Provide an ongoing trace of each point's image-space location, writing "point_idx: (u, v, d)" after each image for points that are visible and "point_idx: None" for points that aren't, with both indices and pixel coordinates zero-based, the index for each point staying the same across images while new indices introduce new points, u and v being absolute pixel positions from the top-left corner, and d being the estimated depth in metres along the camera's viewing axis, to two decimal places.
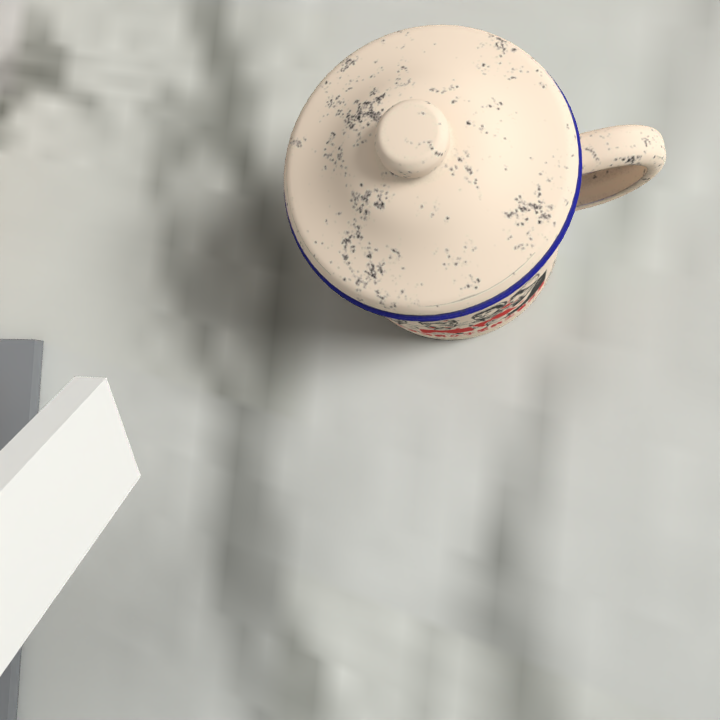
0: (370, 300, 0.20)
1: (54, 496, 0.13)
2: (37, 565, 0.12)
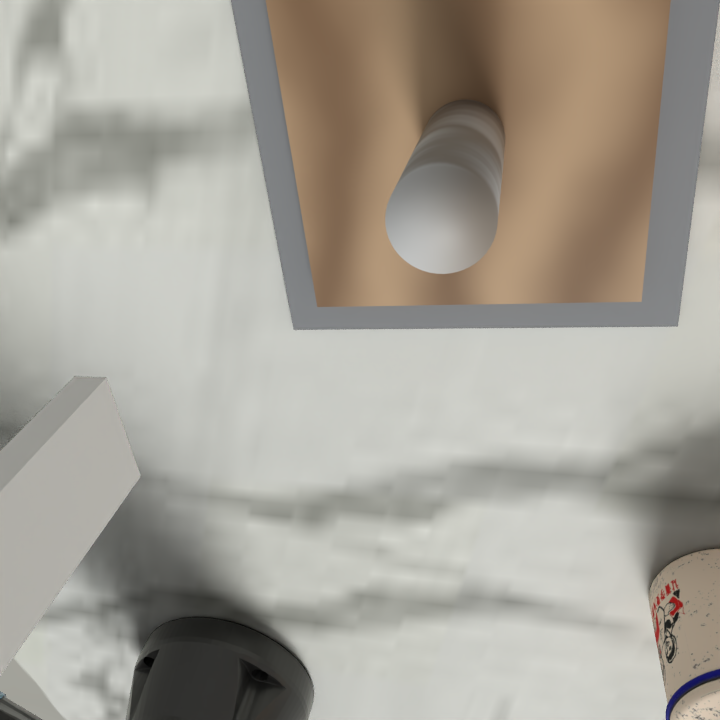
0: (681, 708, 0.36)
1: (54, 496, 0.13)
2: (37, 565, 0.12)
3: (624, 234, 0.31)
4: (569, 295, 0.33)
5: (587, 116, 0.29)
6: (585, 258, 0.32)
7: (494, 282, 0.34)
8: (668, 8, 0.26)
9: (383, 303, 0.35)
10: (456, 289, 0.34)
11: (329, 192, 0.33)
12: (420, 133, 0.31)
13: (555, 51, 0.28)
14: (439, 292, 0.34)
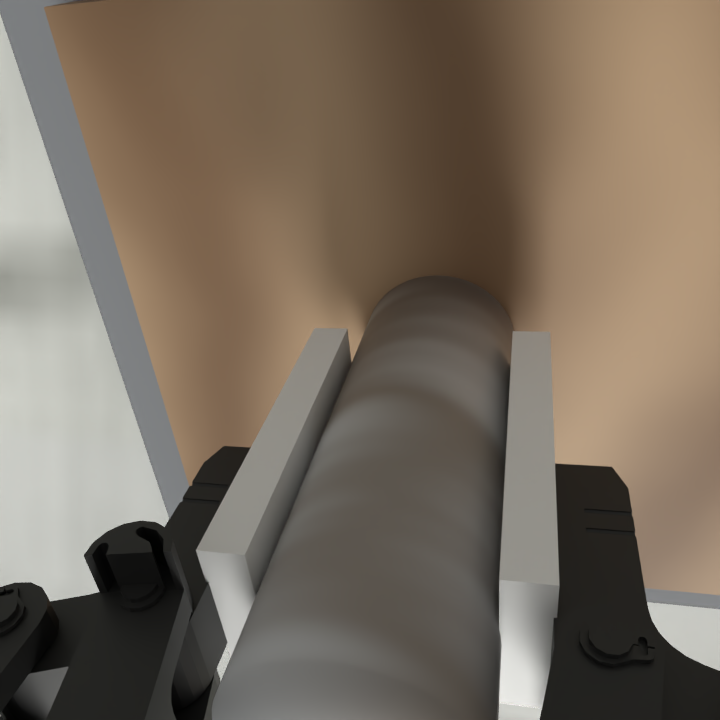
0: None
1: None
2: None
3: None
4: None
5: (672, 320, 0.15)
6: (648, 529, 0.19)
7: None
8: None
9: None
10: None
11: (213, 396, 0.19)
12: (362, 323, 0.17)
13: (618, 206, 0.14)
14: None
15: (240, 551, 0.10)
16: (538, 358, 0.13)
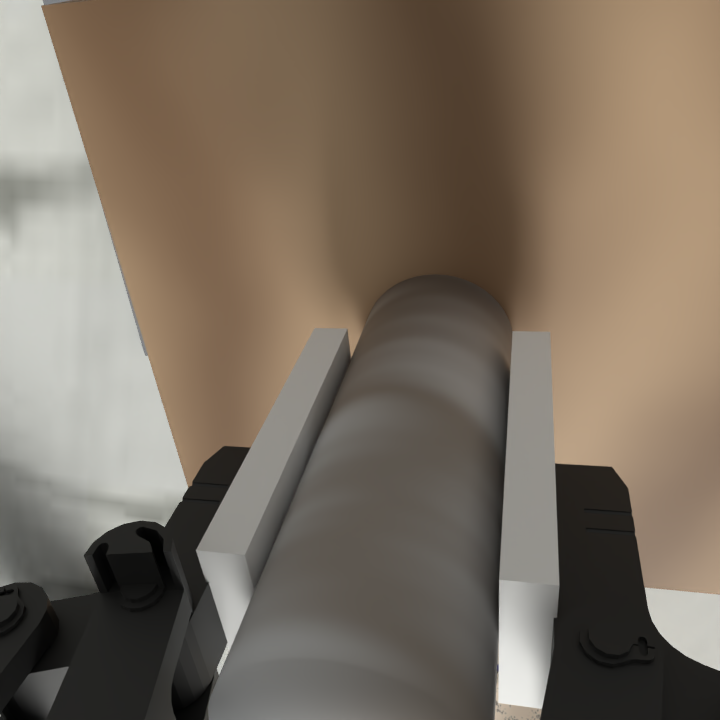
0: None
1: None
2: None
3: None
4: None
5: (670, 319, 0.15)
6: (646, 528, 0.19)
7: None
8: None
9: None
10: None
11: (211, 396, 0.19)
12: (360, 322, 0.17)
13: (616, 205, 0.14)
14: None
15: (240, 551, 0.10)
16: (538, 358, 0.13)
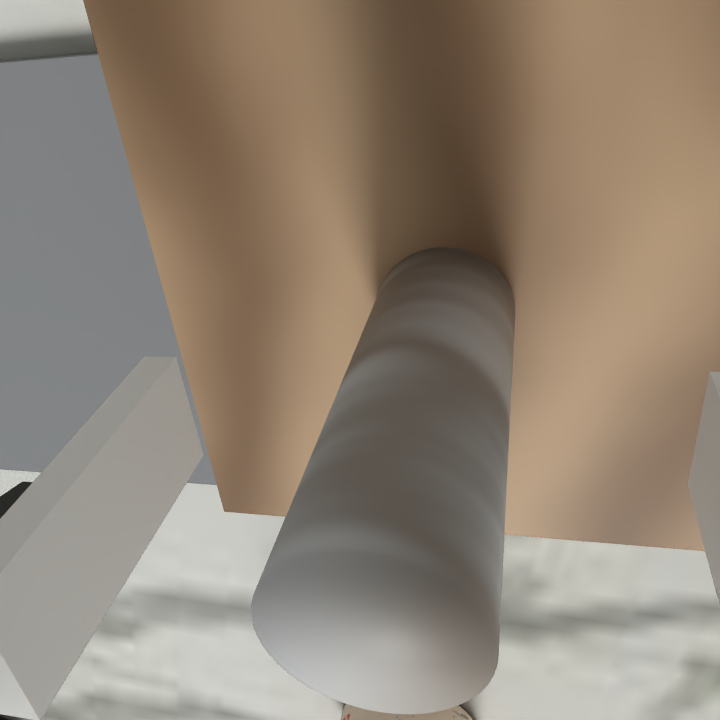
0: None
1: (134, 469, 0.13)
2: (120, 535, 0.13)
3: None
4: (609, 533, 0.21)
5: (659, 287, 0.17)
6: (639, 488, 0.20)
7: None
8: None
9: None
10: None
11: (232, 365, 0.21)
12: (373, 293, 0.18)
13: (610, 181, 0.16)
14: None
15: None
16: None
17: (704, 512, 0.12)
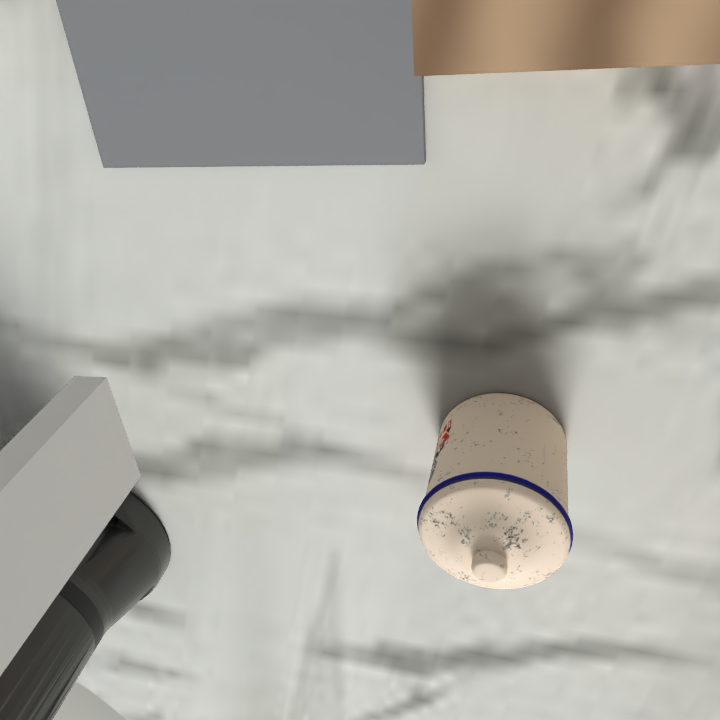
0: (423, 514, 0.41)
1: (54, 495, 0.13)
2: (37, 565, 0.12)
3: None
4: None
5: None
6: None
7: (658, 32, 0.26)
8: None
9: (502, 68, 0.27)
10: (604, 44, 0.26)
11: None
12: None
13: None
14: (581, 49, 0.26)
15: None
16: None
17: None
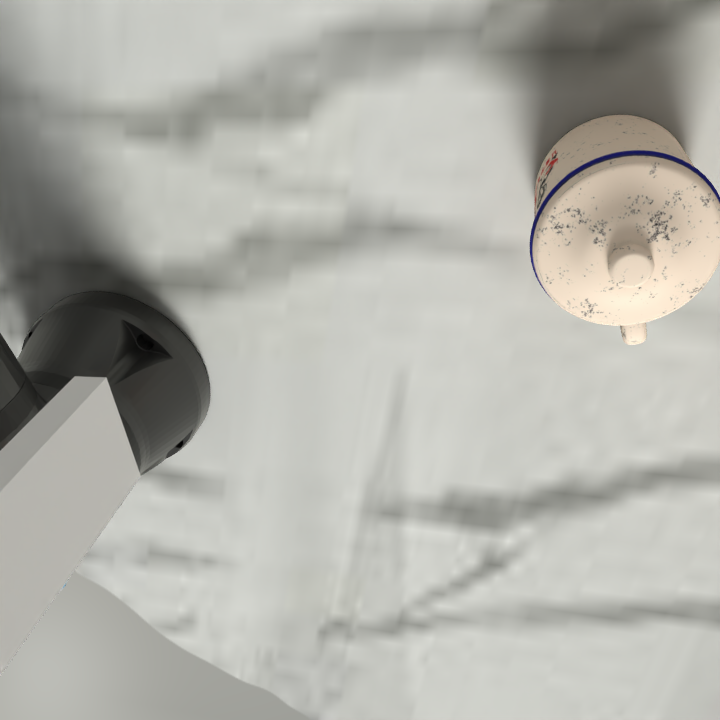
0: (541, 222, 0.34)
1: (54, 494, 0.13)
2: (37, 565, 0.12)
3: None
4: None
5: None
6: None
7: None
8: None
9: None
10: None
11: None
12: None
13: None
14: None
15: None
16: None
17: None
